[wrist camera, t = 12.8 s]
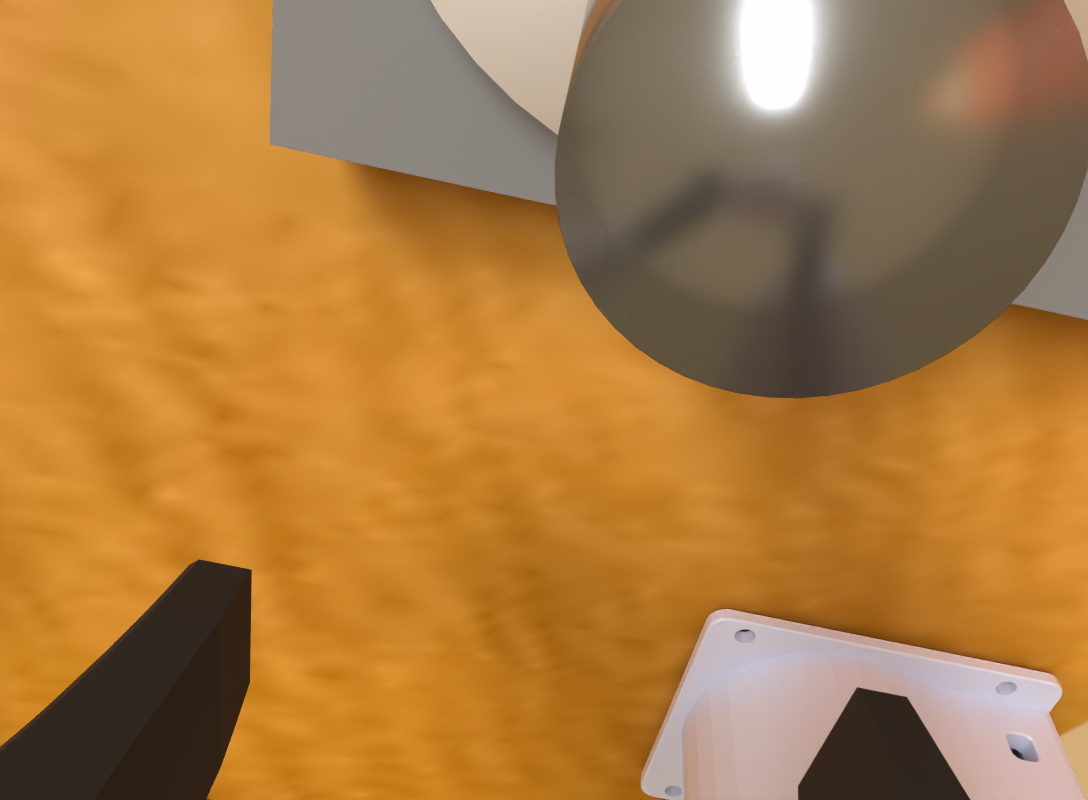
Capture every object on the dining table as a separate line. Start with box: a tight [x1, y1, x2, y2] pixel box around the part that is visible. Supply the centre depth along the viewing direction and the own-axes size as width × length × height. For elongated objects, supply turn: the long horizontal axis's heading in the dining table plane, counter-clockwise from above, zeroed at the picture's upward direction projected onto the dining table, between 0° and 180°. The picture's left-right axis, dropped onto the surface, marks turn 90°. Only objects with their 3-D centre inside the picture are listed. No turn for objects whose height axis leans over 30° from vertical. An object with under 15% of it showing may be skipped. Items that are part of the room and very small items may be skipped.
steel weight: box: [555, 0, 1088, 398], centre depth 11 cm, size 4×4×6 cm
